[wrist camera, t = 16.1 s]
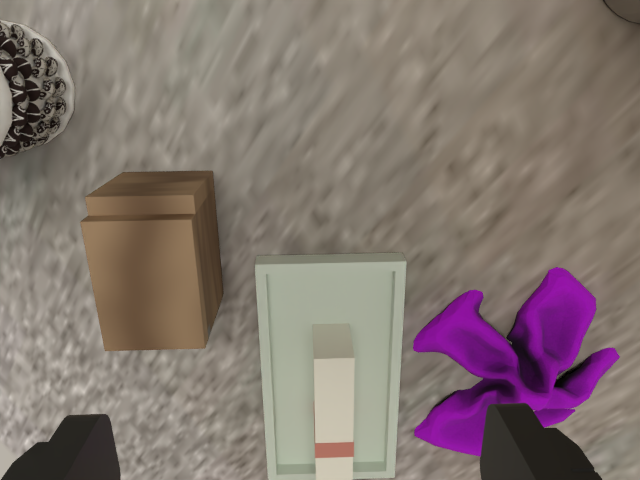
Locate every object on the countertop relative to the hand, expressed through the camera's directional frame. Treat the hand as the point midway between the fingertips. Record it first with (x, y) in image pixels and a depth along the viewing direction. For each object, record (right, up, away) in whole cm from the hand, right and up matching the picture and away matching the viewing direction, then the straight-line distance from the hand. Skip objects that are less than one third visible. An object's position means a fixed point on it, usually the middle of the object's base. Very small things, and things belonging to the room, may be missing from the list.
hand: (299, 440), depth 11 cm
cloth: (+19, -7, +34) cm, 39 cm away
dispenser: (-11, +4, +28) cm, 30 cm away
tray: (+1, -7, +33) cm, 33 cm away
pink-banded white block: (+1, -9, +33) cm, 34 cm away
